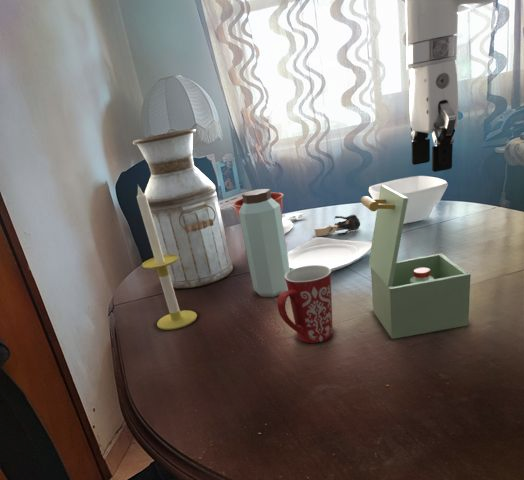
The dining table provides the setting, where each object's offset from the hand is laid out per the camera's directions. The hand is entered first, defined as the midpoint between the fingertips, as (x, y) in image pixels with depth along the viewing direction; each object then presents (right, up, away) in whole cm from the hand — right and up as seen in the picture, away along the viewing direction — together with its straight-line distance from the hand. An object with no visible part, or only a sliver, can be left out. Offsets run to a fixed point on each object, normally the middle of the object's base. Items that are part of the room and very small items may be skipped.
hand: (430, 166), depth 82 cm
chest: (+2, -26, +11) cm, 29 cm away
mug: (-20, -30, +12) cm, 39 cm away
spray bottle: (-22, +13, +92) cm, 95 cm away
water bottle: (-27, -17, +38) cm, 50 cm away
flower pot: (-29, +1, +73) cm, 78 cm away
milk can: (-49, -10, +60) cm, 78 cm away
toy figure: (-5, +6, +73) cm, 73 cm away
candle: (-51, -26, +32) cm, 65 cm away
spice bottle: (+2, -25, +11) cm, 28 cm away
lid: (-7, -11, +3) cm, 14 cm away
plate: (-12, -7, +52) cm, 54 cm away
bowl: (+18, +10, +72) cm, 75 cm away
